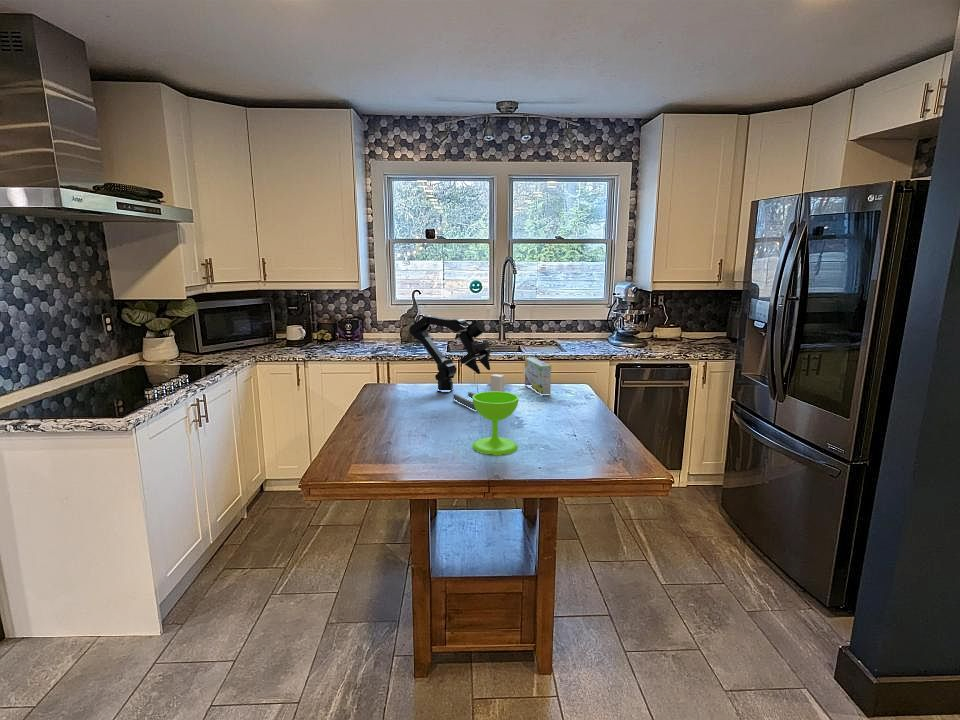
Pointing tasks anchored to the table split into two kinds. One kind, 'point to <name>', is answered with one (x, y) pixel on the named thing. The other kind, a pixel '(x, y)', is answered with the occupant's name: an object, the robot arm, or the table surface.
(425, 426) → the table surface
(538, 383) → the snack box
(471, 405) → the bottom track
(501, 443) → the wineglass
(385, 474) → the table surface
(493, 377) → the cream rectangular block
